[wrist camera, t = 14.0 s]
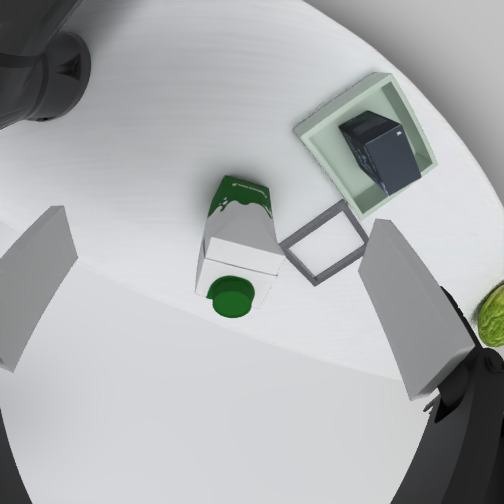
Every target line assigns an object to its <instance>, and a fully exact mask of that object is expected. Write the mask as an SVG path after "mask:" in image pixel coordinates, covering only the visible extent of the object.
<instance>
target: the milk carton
mask: <svg viewBox="0 0 504 504" xmlns="http://www.w3.org/2000/svg"><path fill="white" fill-rule="evenodd" d="M285 258H286V256H285V254H284V252H283V251H282V249H281V247H280V246H279V244H278V242H277V239H276V233H275V227H274V222H273V217H272V210H271V202H270V194H269V188H266V187H262V186H259V185H256V184H253V183H249V182H246V181H242V180H239V179H236V178H232V177H229V176H225V177H224V179H223V181H222V182H221V184H220V186H219V188H218V190H217V192H216V194H215V196H214V198H213V200H212V203H211V206H210V209H209V213H208V216H207V220H206V225H205V229H204V233H203V238H202V242H201V247H200V253H199V259H198V265H197V273H196V285H195V294H196V295H199V296H204V297H206V298H208V299H212V300H213V302H212V303H213V308H214V310H215V311H216V312H217V313H218V314H220V315H221V316H224V317H227V318H238V317H242V316H244V315H246V314H247V313H248V312H249V311H250V309H251V307H252V308H256V309H260V308H261V306H262V304H263V302H264V301H265V299H266V297H267V295H268V293H269V291H270V289H271V287H272V285H273V284H274V282H275V281H276V279H277V276H278V272H279V270H280V268H281V266H282V264H283V262H284V260H285Z"/></svg>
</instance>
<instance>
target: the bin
mask: <svg viewBox="0 0 504 504" xmlns="http://www.w3.org/2000/svg"><path fill="white" fill-rule="evenodd" d="M367 110H369V111H371V112H374V113H377V114H379V115H381V116H384V117H386V118H389V119H391V120H393V121H396V122H398V123H400V124H402V125H403V128H404V131H405V133H406V136H407V138H408V141H409V144H410V146H411V149H412V151H413V154H414V157H415V159H416V162H417V165H418V167H419V170H420V173H421V175H422V177H423V176H424V175H425V174H427V173H428V172H429V171H431V170H432V169H433V168H435V167H436V166H437V165H438V163H437V161H436V158H435V156H434V153H433V151H432V149H431V147H430V144H429V142H428V140H427V138H426V135H425V133H424V131H423V129H422V127H421V125H420V123H419V121H418V119H417V117H416V115H415V113H414V111H413V109H412V107H411V105H410V104H409V102H408V100H407V98H406V96H405V95H404V93H403V91H402V89H401V88H400V86H399V84H398V83H397V81H396V79H395V78H394V76H393V74H392V73H377V72H374V73H372V74H371V75H369V76H368V77H366V78H365V79H363V80H362V81H360V82H359V83H357V84H356V85H354V86H353V87H351V88H350V89H348V90H347V91H345V92H344V93H342V94H341V95H339V96H338V97H336V98H335V99H334V100H332V101H331V102H329V103H328V104H326V105H325V106H324V107H322V108H321V109H319V110H318V111H317V112H315V113H314V114H313V115H311V116H310V117H308V118H307V119H306V120H304V121H303V122H302V123H300V124H299V125H298V126H296V127H295V128H294V129H293V131H294V132H295V133H296V134H297V135H298V137H299V138H300V139H301V140H302V142H303V143H304V144H305V145H306V147H307V148H308V149H309V150H310V152H311V153H312V154H313V155H314V157H315V158H316V159H317V161H318V162H319V163H320V165H321V166H322V167H323V169H324V170H325V171H326V173H327V174H328V175H329V177H330V178H331V179H332V181H333V182H334V184H335V185H336V186H337V188H338V189H339V190H340V192H341V193H342V195H343V196H344V198H345V199H346V200H347V202H348V203H349V205H350V206H351V208H352V209H353V210H354V212H355V213H356V215H357V216H358V218H359V219H360V221H362V220H363V219H365V218H366V217H367V216H369V215H370V214H372V213H373V212H375V211H376V210H377V209H379V208H380V207H382V206H383V205H384V204H386V203H387V202H389V201H390V200H391V199H393V198H394V197H395V196H397V195H398V194H400V193H401V192H402V191H404V190H405V189H406V188H408V187H409V186H411V185H412V184H413V183H415V182H416V181H417V180H416V181H414V182H413V183H411V184H409V185H408V186H406V187H404V188H402V189H401V190H399V191H397V192H396V193H394V194H392V195H390V196H387V194H386V193H385V192H384V191H383V190H382V189H381V188H380V187H379V186H378V185H377V184H376V183H375V182H374V181H373V180H372V179H371V178H370V177H369V176H368V175H367V174H366V173H365V172H364V171H362V170H361V169H360V167H359V165H358V163H357V161H356V159H355V157H354V155H353V153H352V151H351V149H350V147H349V146H348V144H347V142H346V140H345V138H344V136H343V135H342V133H341V131H340V129H339V128H338V126H339V125H341V124H343V123H345V122H347V121H348V120H350V119H352V118H354V117H356V116H357V115H359V114H361V113H363V112H365V111H367ZM418 180H419V179H418Z"/></svg>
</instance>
